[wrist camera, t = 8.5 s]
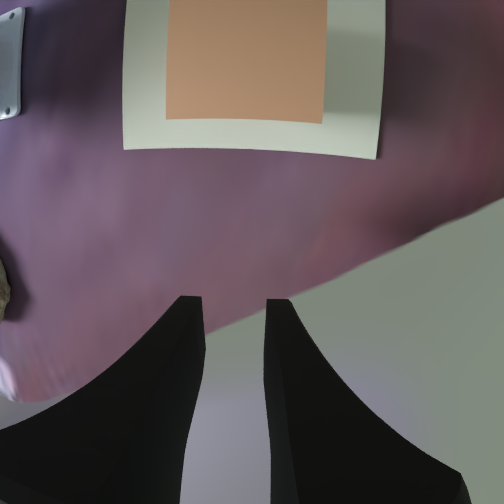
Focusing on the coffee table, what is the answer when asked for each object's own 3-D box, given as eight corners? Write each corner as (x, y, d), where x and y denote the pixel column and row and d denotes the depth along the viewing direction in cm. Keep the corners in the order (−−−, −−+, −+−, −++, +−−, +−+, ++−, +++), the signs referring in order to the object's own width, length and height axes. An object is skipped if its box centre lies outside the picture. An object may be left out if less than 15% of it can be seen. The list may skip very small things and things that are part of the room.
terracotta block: (207, 109, 16) (165, 119, 8) (210, 30, 14) (171, -19, 6) (293, 112, 16) (321, 123, 8) (296, 33, 14) (327, -17, 6)
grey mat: (127, 147, 17) (123, 149, 17) (135, -39, 12) (132, -42, 11) (372, 157, 17) (375, 159, 17) (380, -31, 12) (384, -34, 11)
